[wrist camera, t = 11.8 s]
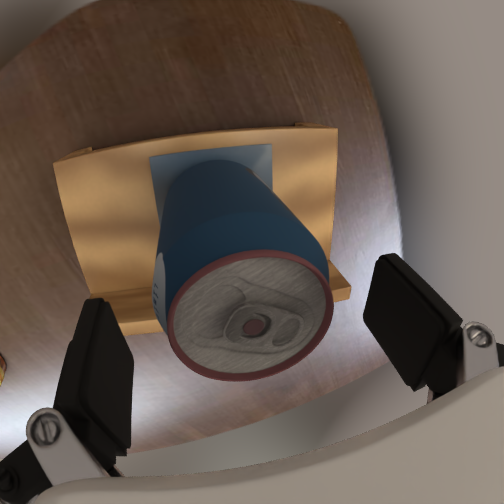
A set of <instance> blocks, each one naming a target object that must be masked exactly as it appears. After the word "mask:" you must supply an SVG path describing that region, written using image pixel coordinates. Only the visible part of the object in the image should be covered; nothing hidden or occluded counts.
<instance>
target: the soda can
mask: <svg viewBox="0 0 504 504" xmlns="http://www.w3.org/2000/svg"><path fill="white" fill-rule="evenodd" d="M152 303H153V308H154V312H155V315H156V317H157V320H158V322H159V323H160V325H161V327H162V328H163V330H164V331H165V333H166V334H167V335H168V339H169V342H170V345H171V347H172V349H173V351H174V353H175V354H176V356H177V357H178V358H179V359H180V360H181V361H182V362H183V363H184V364H185V365H186V366H187V367H188V368H190V369H191V370H193V371H194V372H196V373H198V374H200V375H202V376H205V377H208V378H211V379H216V380H222V381H250V380H257V379H261V378H265V377H269V376H272V375H275V374H277V373H280V372H282V371H284V370H286V369H288V368H290V367H292V366H293V365H295V364H297V363H298V362H300V361H301V360H302V359H304V358H305V357H306V356H307V355H308V354H310V353H311V352H312V351H313V350H314V349H315V348H316V346H317V345H318V344H319V343H320V342H321V340H322V339H323V337H324V336H325V334H326V332H327V330H328V328H329V326H330V323H331V320H332V316H333V310H334V300H333V294H332V291H331V288H330V286H329V267H328V262H327V258H326V255H325V253H324V251H323V249H322V247H321V245H320V244H319V242H318V241H317V240H316V238H315V237H314V236H313V235H312V234H311V232H310V231H309V230H308V229H307V228H306V227H305V226H304V225H303V224H302V222H301V221H300V220H299V219H298V218H297V217H296V216H295V215H294V214H293V212H292V211H291V210H290V209H289V208H288V207H287V206H286V205H285V204H284V203H283V202H282V200H281V199H280V198H279V197H278V196H277V195H276V194H275V193H274V192H273V191H272V190H271V189H270V188H269V187H268V185H267V184H266V183H265V182H264V181H263V180H262V179H261V178H260V177H259V176H258V175H257V174H256V173H255V172H254V171H252V170H251V169H250V168H248V167H246V166H244V165H242V164H240V163H237V162H234V161H229V160H210V161H205V162H202V163H199V164H197V165H194V166H192V167H191V168H189V169H187V170H186V171H185V172H183V173H182V174H181V175H180V176H179V177H178V178H177V179H176V180H175V182H174V183H173V184H172V186H171V187H170V189H169V191H168V193H167V196H166V199H165V203H164V208H163V214H162V220H161V226H160V232H159V239H158V245H157V252H156V260H155V267H154V275H153V284H152Z"/></svg>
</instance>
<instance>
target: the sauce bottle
mask: <svg viewBox="0 0 504 504" xmlns="http://www.w3.org/2000/svg"><path fill="white" fill-rule="evenodd" d="M5 371H6V364H5V362H4V360H3V358H2V357H1V356H0V386H1V383H2V381H3V379H4V374H5Z"/></svg>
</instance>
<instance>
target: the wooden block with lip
mask: <svg viewBox="0 0 504 504" xmlns="http://www.w3.org/2000/svg"><path fill="white" fill-rule="evenodd" d="M337 141H338V129H337V128H332V127H328V126H324V125H320V124H315V123H310V122H297V123H295V126H290V127H260V128H243V129H229V130H218V131H208V132H198V133H190V134H182V135H175V136H168V137H161V138H154V139H148V140H142V141H137V142H131V143H126V144H121V145H116V146H111V147H107V148H102V149H97V150H93V151H92V147H88V148H84V149H80V150H76V151H74V152H72V153H71V154H69V155H67V156H65V157H63V158H61V159H59V160H58V161H56V162H54V163H53V166H54V171H55V176H56V181H57V185H58V190H59V194H60V198H61V202H62V206H63V210H64V214H65V218H66V221H67V225H68V228H69V232H70V235H71V238H72V242H73V245H74V248H75V251H76V254H77V257H78V260H79V263H80V266H81V269H82V272H83V274H84V277H85V280H86V282H87V285H88V288H89V290H90V293H91V296H90V298H89V299H93V298H103V299H104V301H105V302H106V301H108V302H109V303H110V305H111V307H112V310H113V312H114V315H115V317H116V320H117V322H118V324H119V327H120V329H121V331H122V333H123V336H126V335H136V334H146V333H154V332H163V331H164V330H163V328H162V327H161V325H160V323H159V322H158V320H157V317H156V315H155V312H154V308H153V303H152V284H153V275H154V267H155V260H156V252H157V245H158V239H159V232H160V226H161V220H162V214H163V208H164V203H165V199H166V196H167V193H168V191H169V189H170V187H171V186H172V184H173V183H174V182H175V180H176V179H177V178H178V177H179V176H180V175H181V174H182V173H183V172H185V171H186V170H187V169H189V168H191V167H192V166H194V165H197V164H199V163H202V162H205V161H210V160H229V161H234V162H237V163H240V164H242V165H244V166H246V167H248V168H250V169H251V170H252V171H254V172H255V173H256V174H257V175H258V176H259V177H260V178H261V179H262V180H263V181H264V182H265V183H266V184H267V185H268V187H269V188H270V189H271V190H272V191H273V192H274V193H275V194H276V195H277V196H278V197H279V198H280V199H281V200H282V202H283V203H284V204H285V205H286V206H287V207H288V208H289V209H290V210H291V211H292V212H293V214H294V215H295V216H296V217H297V218H298V219H299V220H300V221H301V222H302V224H303V225H304V226H305V227H306V228H307V229H308V230H309V231H310V232H311V234H312V235H313V236H314V237H315V238H316V240H317V241H318V242H319V244H320V245H321V247H322V249H323V251H324V253H325V255H326V258H327V262H328V267H329V286H330V288H331V291H332V294H333V300H334V302H338V301H342V300H347V299H349V298H350V292H351V285H350V284H349V283H348V282H347V280H346V279H345V278H344V277H343V276H342V274H341V273H340V272H339V271H338V269H337V268H336V267H335V266H334V265H333V263H332V262H331V261H330V250H331V240H332V229H333V217H334V203H335V188H336V169H337Z"/></svg>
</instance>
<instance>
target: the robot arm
mask: <svg viewBox="0 0 504 504" xmlns="http://www.w3.org/2000/svg"><path fill="white" fill-rule="evenodd" d="M363 320H364V323H365V324H366V326H367V327H368V329H369V330H370V331H371V333H372V334H373V336H374V337H375V339H376V340H377V342H378V343H379V345H380V346H381V348H382V349H383V350H384V352H385V353H386V355H387V356H388V358H389V359H390V361H391V362H392V364H393V365H394V367H395V368H396V370H397V372H398V373H399V375H400V376H401V378H402V379H403V381H404V382H405V384H406V385H408V386H410V387H411V388H412V390H413V391H414V392H415V391H417V390H419V389H421V388H423V387H425V385H426V384H427V386H428V387H429V392H428V400H427V404H426V405H424V406H422V407H421V408H418V409H416V410H415V411H413V412H410V413H408V414H406V415H404V416H402V417H400V418H398V419H396V420H393V421H391V422H389V423H387V424H384V425H382V426H380V427H377V428H375V429H372V430H370V431H368V432H365V433H362V434H360V435H357V436H355V437H352V438H349V439H347V440H344V441H341V442H338V443H335V444H332V445H329V446H326V447H323V448H319V449H316V450H313V451H310V452H306V453H302V454H299V455H295V456H291V457H287V458H283V459H279V460H275V461H270V462H266V463H261V464H256V465H251V466H246V467H240V468H234V469H227V470H220V471H213V472H204V473H194V474H183V475H171V476H149V477H148V476H146V477H125V476H124V475H123V474H122V473H121V472H120V471H119V469H118V468H117V467H116V466H115V464H116V456H127V448H130V447H131V412H132V388H133V372H134V359H133V355H132V353H131V351H130V349H129V347H128V344H127V342H126V340H125V338H124V336H123V333H122V331H121V329H120V327H119V324H118V322H117V320H116V317H115V315H114V312H113V310H112V307H111V305H110V303H109V302H108V301H106V302H105V301H104V299H103V298H93V299H87V300H85V302H84V305H83V308H82V311H81V314H80V317H79V320H78V323H77V327H76V330H75V333H74V336H73V340H71V341H70V343H69V345H68V348H67V352H66V355H65V359H64V363H63V367H62V370H61V374H60V378H59V382H58V387H57V391H56V396H55V400H54V405H53V408H41V409H39V410H37V411H36V412H35V413H33V414H32V415H31V417H30V418H29V420H28V422H27V426H26V436H27V440H26V441H25V442H23V443H22V444H21V445H20V446H19V447H17V448H16V449H15V450H14V451H13V452H11V453H10V454H9V455H8V456H6V457H5V458H4V459H3V460H2V461H1V462H0V504H504V345H503V344H499V343H496V341H495V337H494V334H493V333H492V331H491V330H490V329H489V328H488V327H487V326H485V325H484V324H482V323H479V322H469V323H467V324H465V326H464V328H463V329H462V328H461V327H460V325H461V323H462V321H463V320H462V318H461V317H460V316H459V315H458V314H457V313H456V312H455V311H454V310H453V309H452V308H451V307H450V306H449V305H448V304H447V303H446V302H445V301H444V300H443V299H442V298H441V297H440V295H439V294H438V293H437V292H436V291H435V290H434V289H433V288H432V287H431V286H430V285H429V284H428V283H427V282H426V281H425V280H423V279H422V278H421V277H420V276H419V275H418V274H417V273H416V272H415V271H414V270H413V269H412V268H411V267H410V266H409V265H408V264H407V263H406V262H405V261H404V260H402V259H401V258H400V257H399V256H398V255H397V254H395V253H391V254H385V255H381V256H380V257H379V259H378V260H377V261H376V263H375V267H374V272H373V276H372V281H371V285H370V289H369V293H368V297H367V301H366V305H365V309H364V313H363Z"/></svg>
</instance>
